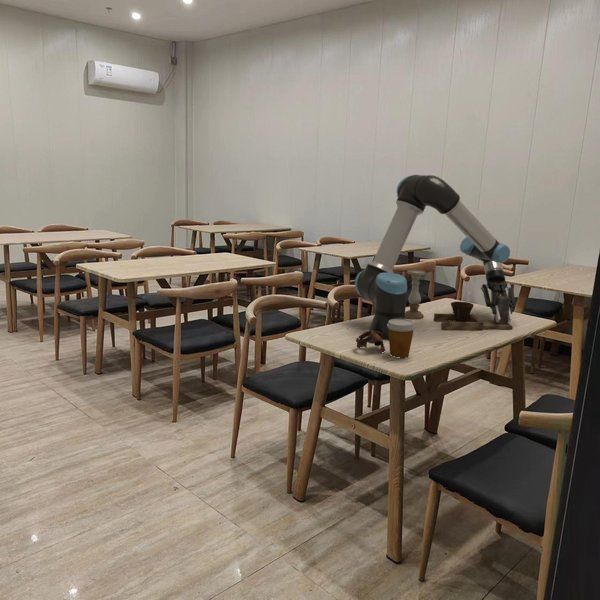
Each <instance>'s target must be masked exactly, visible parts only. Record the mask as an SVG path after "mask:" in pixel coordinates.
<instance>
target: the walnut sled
mask: <svg viewBox="0 0 600 600" xmlns="http://www.w3.org/2000/svg"><path fill="white" fill-rule="evenodd" d="M507 296H508V295H507ZM507 296H501V295H496V305H498V310H499V315H500V321H499V322H496V317H495V314H493V319H480V318H478V317H477V316H476V315H475V314H473V313H470V315H469V317H468V321H467V322H455V320H454V313H435V312H434V313H433V321H434V322H441V324H440V329H441V330H450V331H451V330H456V331H457V330H458V331H461V330H463V331H483V330H485V329H486V330H513V329H514V328H513V327H514V326H513V325H512V324H510V323H508V315H509V306H510V298H509V296H508V297H507ZM496 305H495V306H496Z"/></svg>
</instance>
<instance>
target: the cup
mask: <svg viewBox="0 0 600 600" xmlns="http://www.w3.org/2000/svg"><path fill="white" fill-rule="evenodd" d="M450 306H451V309H452V314H454V320H455V321H454V322H469V321H468V317H469V315H470V314H471V311H472V310H473V307H474V304H473V303H471V302H468V301H453V302H450Z"/></svg>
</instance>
